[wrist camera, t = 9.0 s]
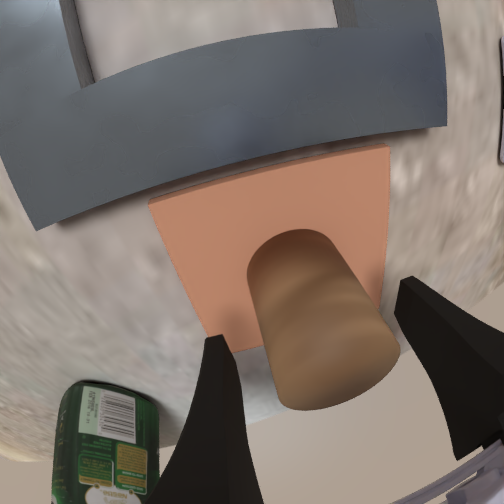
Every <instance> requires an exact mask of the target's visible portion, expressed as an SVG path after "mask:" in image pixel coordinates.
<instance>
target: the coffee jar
mask: <svg viewBox="0 0 504 504" xmlns="http://www.w3.org/2000/svg"><path fill="white" fill-rule="evenodd" d="M159 479H160V474H159V414H158V410H157V408H156V407H155V406H154V405H153V404H152V403H150V402H149V401H147V400H145V399H143V398H141V397H140V396H138V395H137V394H135V393H133V392H130V391H128V390H125V389H122V388H119V387H115V386H112V385H102V384H92V383H83V382H79V383H75V384H74V385H72V386H71V387H70V388H69V389H68V390H67V391H66V392H65V394H64V396H63V398H62V400H61V403H60V408H59V413H58V420H57V427H56V436H55V447H54V460H53V474H52V501H51V502H52V503H51V504H144V502H145V501H146V499H147V498H148V496H149V495H150V493H151V492H152V490H153V489H154V487H155V486H156V484H157V482H158V481H159Z"/></svg>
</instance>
